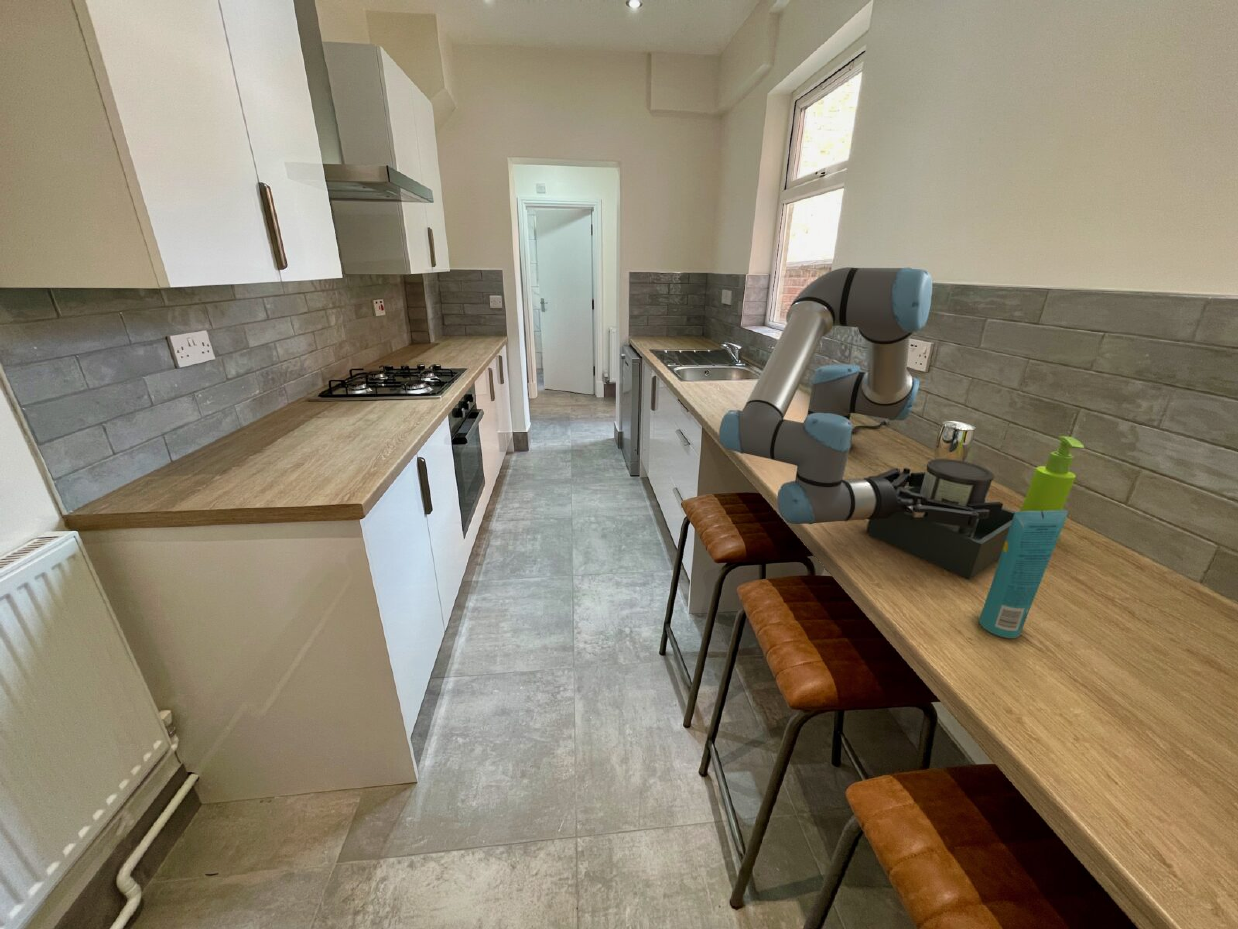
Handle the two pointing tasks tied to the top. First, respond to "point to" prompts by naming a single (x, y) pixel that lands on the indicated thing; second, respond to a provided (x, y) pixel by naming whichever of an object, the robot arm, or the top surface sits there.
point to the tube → (1020, 570)
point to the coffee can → (956, 486)
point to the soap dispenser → (1052, 479)
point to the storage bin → (946, 540)
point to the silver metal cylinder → (954, 441)
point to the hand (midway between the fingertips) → (967, 493)
